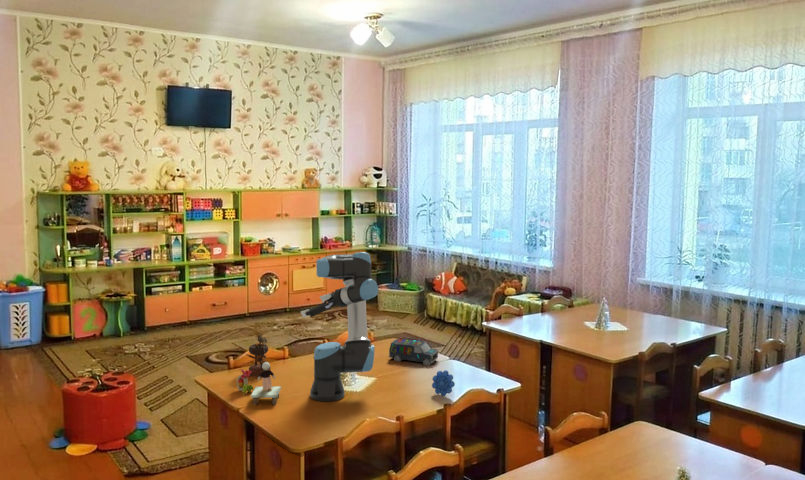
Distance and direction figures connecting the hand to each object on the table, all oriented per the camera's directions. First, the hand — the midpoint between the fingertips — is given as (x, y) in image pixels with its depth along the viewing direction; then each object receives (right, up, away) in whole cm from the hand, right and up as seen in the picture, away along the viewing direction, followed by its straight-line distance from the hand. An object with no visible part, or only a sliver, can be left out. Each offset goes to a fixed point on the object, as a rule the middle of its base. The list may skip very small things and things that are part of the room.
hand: (312, 306), depth 283 cm
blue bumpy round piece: (+57, -41, +12) cm, 72 cm away
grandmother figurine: (-20, -37, +3) cm, 42 cm away
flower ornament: (-33, -40, +14) cm, 54 cm away
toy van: (+45, -35, +63) cm, 85 cm away
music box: (-32, -37, +40) cm, 63 cm away
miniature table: (-20, -41, +3) cm, 46 cm away
